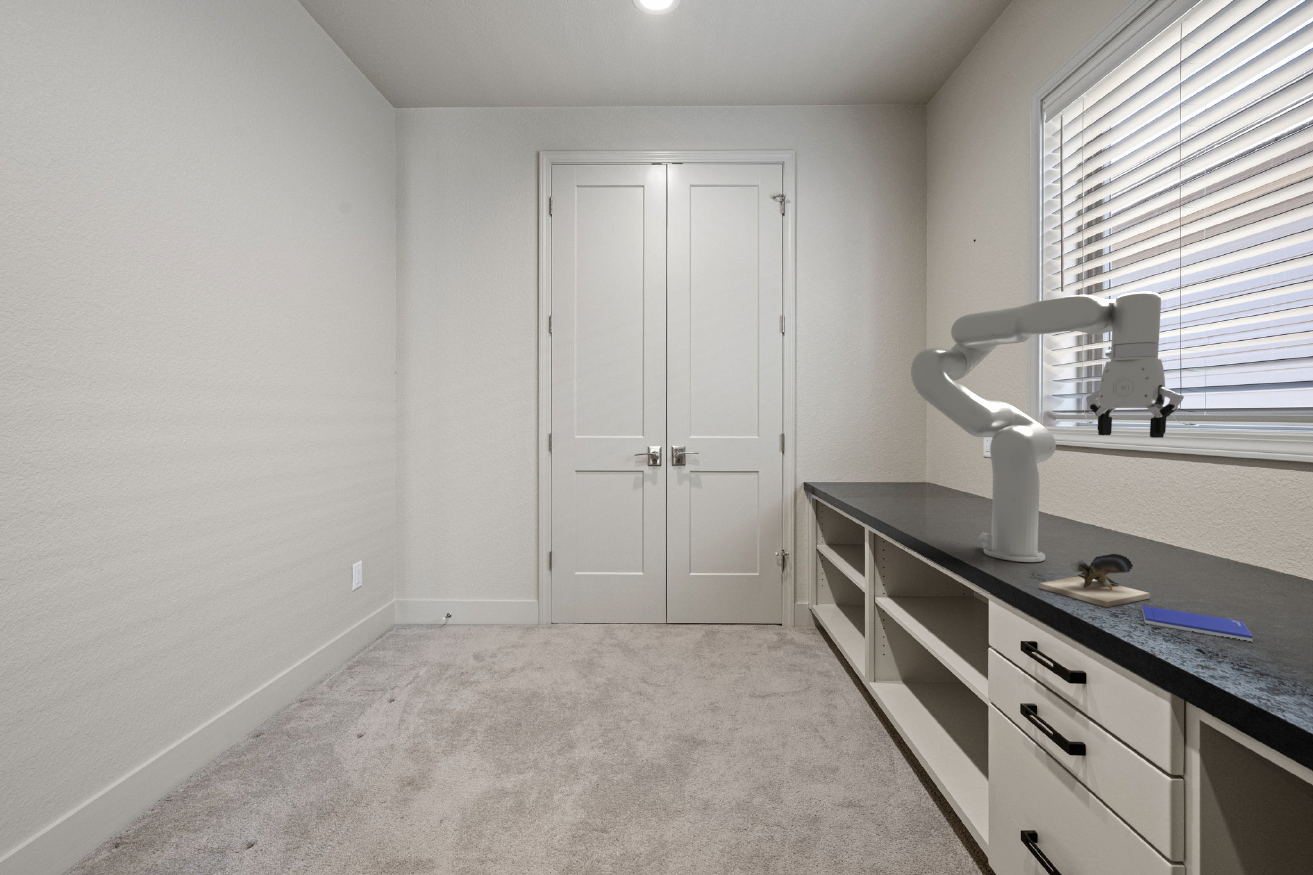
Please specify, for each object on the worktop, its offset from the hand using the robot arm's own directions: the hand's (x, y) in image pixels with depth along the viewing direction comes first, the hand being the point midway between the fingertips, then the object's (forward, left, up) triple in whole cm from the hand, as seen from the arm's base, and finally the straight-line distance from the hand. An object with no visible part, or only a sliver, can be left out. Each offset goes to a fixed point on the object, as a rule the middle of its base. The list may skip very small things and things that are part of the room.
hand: (1129, 436), depth 118 cm
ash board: (+4, -18, -30) cm, 35 cm away
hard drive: (+21, -20, -31) cm, 42 cm away
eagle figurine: (+4, -15, -29) cm, 33 cm away
